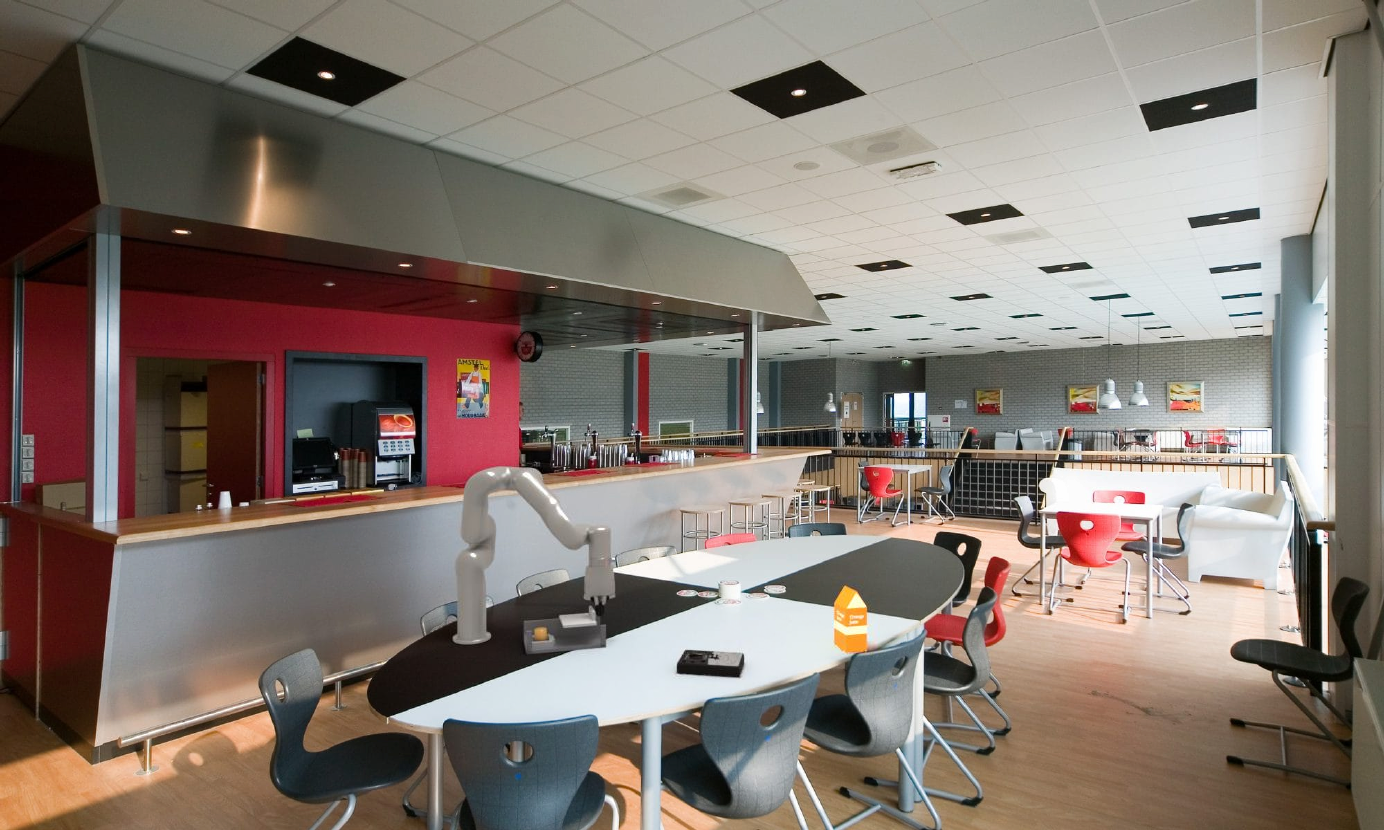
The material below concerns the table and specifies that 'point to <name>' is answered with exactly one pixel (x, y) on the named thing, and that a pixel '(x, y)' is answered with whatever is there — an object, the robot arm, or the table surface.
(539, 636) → the peg
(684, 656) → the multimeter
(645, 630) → the table surface
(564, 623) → the lid
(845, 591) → the orange juice
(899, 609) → the table surface
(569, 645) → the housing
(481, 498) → the robot arm
